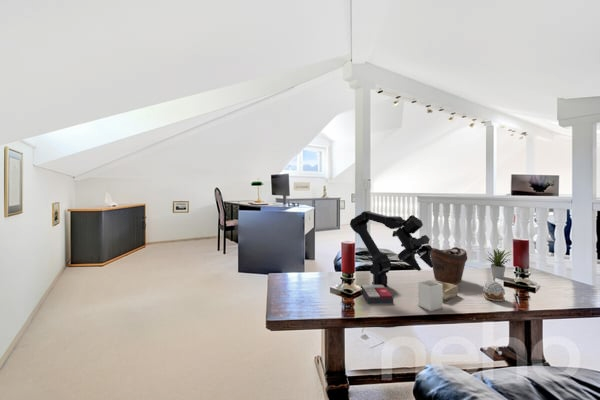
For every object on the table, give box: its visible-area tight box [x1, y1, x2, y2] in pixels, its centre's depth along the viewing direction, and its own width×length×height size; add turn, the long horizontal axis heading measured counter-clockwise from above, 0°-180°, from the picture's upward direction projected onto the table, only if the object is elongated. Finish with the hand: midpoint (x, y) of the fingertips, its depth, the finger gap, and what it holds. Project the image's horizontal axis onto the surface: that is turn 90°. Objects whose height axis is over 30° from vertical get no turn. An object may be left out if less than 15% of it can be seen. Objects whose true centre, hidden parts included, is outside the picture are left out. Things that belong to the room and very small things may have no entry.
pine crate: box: [431, 279, 458, 302], centre depth 141 cm, size 12×12×4 cm
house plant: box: [486, 247, 514, 279], centre depth 168 cm, size 14×14×16 cm
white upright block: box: [417, 279, 443, 312], centre depth 126 cm, size 6×6×10 cm
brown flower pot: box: [430, 247, 468, 284], centre depth 164 cm, size 18×20×18 cm
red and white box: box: [360, 284, 394, 305], centre depth 139 cm, size 11×4×15 cm
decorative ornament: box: [483, 265, 506, 302], centre depth 135 cm, size 8×8×15 cm
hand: (426, 268), depth 135 cm, fingers open, 9 cm apart
